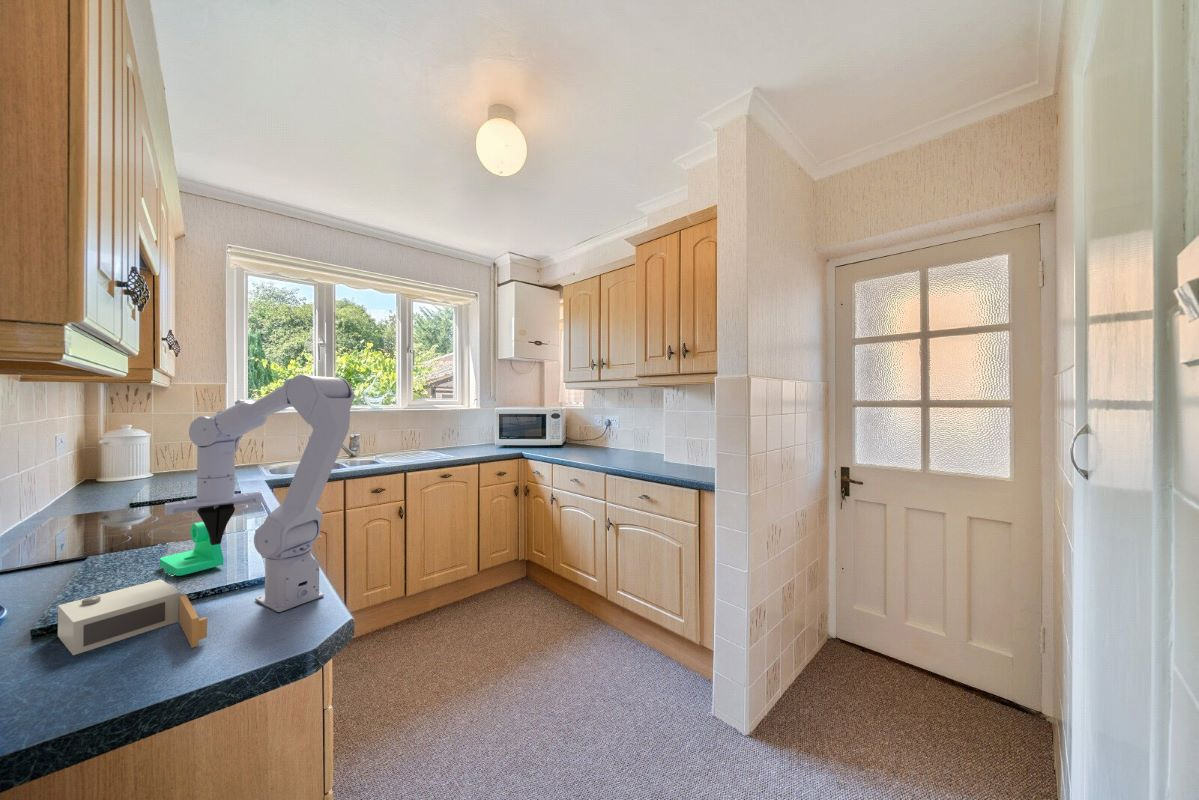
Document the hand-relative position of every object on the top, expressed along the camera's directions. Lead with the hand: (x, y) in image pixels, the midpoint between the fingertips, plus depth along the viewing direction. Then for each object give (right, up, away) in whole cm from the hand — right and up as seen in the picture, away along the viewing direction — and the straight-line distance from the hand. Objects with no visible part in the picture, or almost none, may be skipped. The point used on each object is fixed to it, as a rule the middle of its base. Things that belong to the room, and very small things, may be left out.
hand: (215, 543), depth 87 cm
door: (+10, -9, -16) cm, 21 cm away
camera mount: (-15, -10, +10) cm, 21 cm away
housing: (-3, -9, -15) cm, 18 cm away
